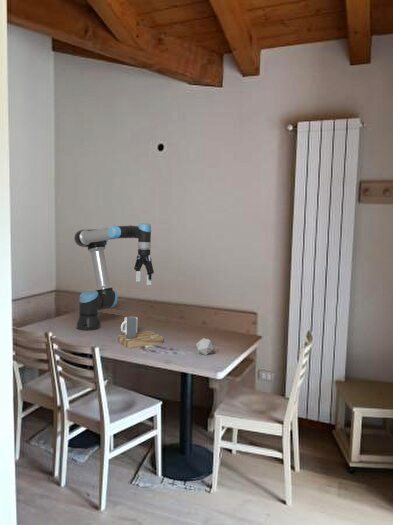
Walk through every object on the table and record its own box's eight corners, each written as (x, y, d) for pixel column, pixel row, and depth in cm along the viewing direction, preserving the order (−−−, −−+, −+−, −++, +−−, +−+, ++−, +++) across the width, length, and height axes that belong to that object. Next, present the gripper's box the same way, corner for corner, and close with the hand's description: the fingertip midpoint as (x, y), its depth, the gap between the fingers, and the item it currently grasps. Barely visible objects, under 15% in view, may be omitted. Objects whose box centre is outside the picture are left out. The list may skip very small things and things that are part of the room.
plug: (126, 343, 271) (126, 316, 270) (132, 342, 274) (133, 316, 272) (129, 345, 268) (130, 318, 266) (135, 344, 270) (136, 317, 269)
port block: (117, 342, 274) (118, 335, 273) (150, 337, 286) (150, 330, 286) (129, 348, 262) (129, 341, 262) (162, 343, 275) (162, 336, 275)
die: (198, 351, 264) (191, 339, 259) (212, 344, 264) (206, 332, 259) (202, 361, 257) (196, 349, 252) (217, 353, 257) (210, 341, 252)
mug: (124, 337, 284) (125, 321, 282) (116, 334, 289) (116, 318, 288) (140, 334, 292) (140, 318, 291) (131, 331, 298) (131, 315, 297)
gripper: (129, 247, 293) (128, 280, 295) (149, 250, 272) (148, 286, 275) (139, 246, 297) (139, 279, 299) (160, 250, 277) (159, 285, 279)
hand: (143, 283), depth 287 cm, fingers open, 13 cm apart
